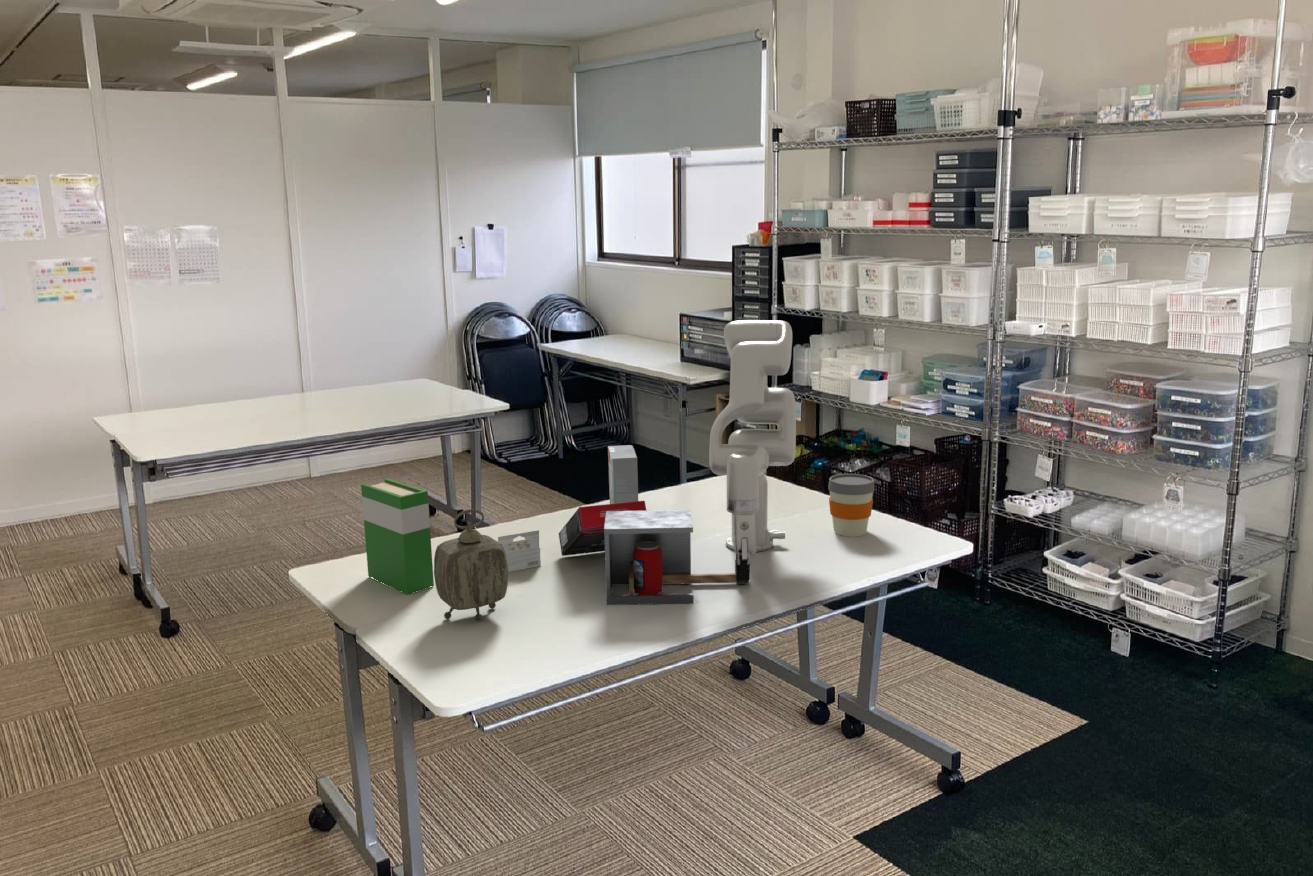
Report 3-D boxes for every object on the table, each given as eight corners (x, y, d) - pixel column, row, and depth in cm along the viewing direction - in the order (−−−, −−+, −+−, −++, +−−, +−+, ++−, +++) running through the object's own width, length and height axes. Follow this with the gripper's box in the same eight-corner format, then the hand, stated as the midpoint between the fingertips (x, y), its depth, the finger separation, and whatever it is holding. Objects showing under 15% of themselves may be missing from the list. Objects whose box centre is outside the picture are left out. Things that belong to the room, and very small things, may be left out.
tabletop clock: (496, 604, 238) (491, 500, 233) (513, 617, 231) (508, 509, 226) (436, 618, 231) (429, 511, 225) (452, 632, 223) (445, 521, 218)
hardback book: (368, 577, 258) (360, 484, 252) (394, 570, 263) (387, 478, 258) (407, 595, 246) (400, 497, 240) (433, 586, 251) (427, 491, 245)
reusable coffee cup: (838, 540, 280) (839, 486, 277) (820, 526, 292) (821, 475, 289) (880, 536, 283) (882, 483, 280) (861, 523, 295) (863, 472, 292)
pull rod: (748, 579, 250) (748, 548, 248) (752, 597, 239) (753, 564, 238) (630, 582, 250) (629, 550, 248) (629, 599, 239) (628, 566, 237)
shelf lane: (690, 581, 251) (690, 509, 247) (693, 603, 237) (692, 527, 233) (608, 583, 251) (606, 511, 247) (606, 605, 237) (604, 529, 233)
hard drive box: (609, 510, 312) (607, 445, 307) (634, 509, 312) (633, 444, 308) (613, 525, 297) (611, 457, 292) (639, 524, 297) (638, 456, 293)
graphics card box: (619, 526, 278) (645, 496, 253) (624, 551, 276) (650, 524, 251) (557, 533, 272) (577, 504, 248) (561, 559, 270) (581, 532, 246)
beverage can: (633, 588, 247) (632, 540, 244) (661, 587, 248) (660, 539, 245) (635, 599, 240) (633, 549, 238) (663, 597, 241) (663, 548, 238)
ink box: (496, 571, 261) (494, 534, 259) (537, 564, 266) (536, 527, 264) (499, 574, 259) (497, 537, 257) (541, 566, 264) (539, 530, 262)
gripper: (762, 513, 237) (761, 589, 241) (755, 494, 253) (754, 566, 257) (729, 514, 237) (729, 590, 241) (724, 495, 253) (724, 566, 257)
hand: (742, 577), depth 249 cm, fingers closed on pull rod, 2 cm apart
